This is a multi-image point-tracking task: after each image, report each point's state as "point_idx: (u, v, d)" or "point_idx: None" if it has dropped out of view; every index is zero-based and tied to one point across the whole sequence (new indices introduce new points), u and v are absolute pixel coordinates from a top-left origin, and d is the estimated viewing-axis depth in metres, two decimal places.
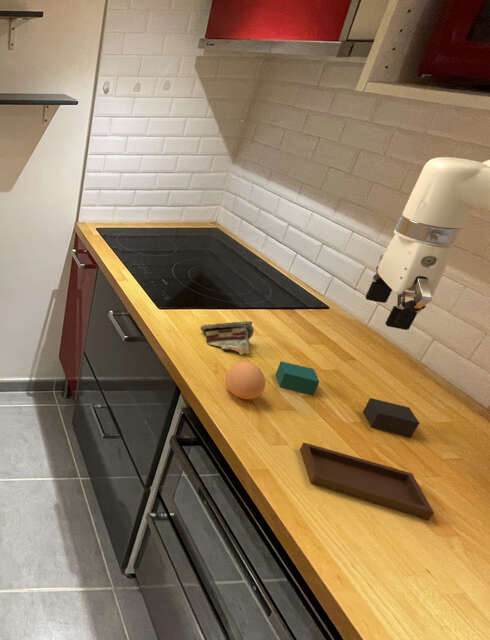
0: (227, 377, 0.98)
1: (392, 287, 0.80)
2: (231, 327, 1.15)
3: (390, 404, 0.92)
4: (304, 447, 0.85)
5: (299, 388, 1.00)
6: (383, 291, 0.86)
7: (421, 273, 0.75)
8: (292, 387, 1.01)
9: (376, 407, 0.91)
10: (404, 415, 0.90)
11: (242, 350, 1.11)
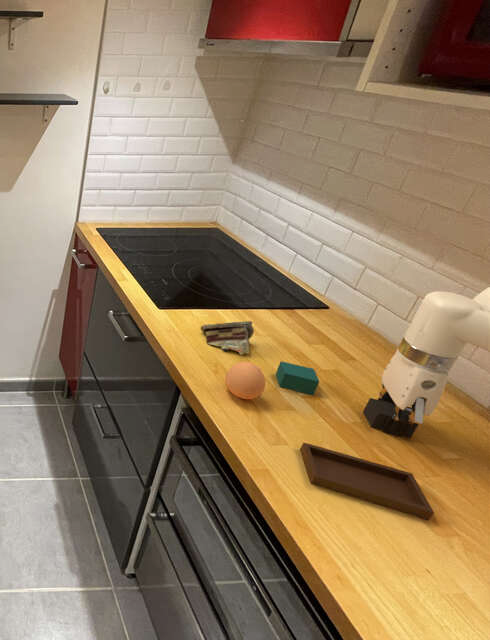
0: (227, 377, 0.98)
1: (395, 401, 0.88)
2: (231, 327, 1.15)
3: (390, 404, 0.92)
4: (304, 447, 0.85)
5: (299, 388, 1.00)
6: None
7: (421, 394, 0.83)
8: (292, 387, 1.01)
9: (376, 407, 0.91)
10: None
11: (242, 350, 1.11)
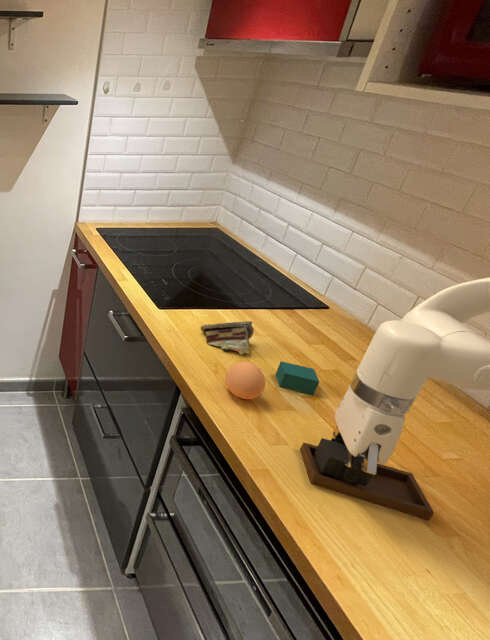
0: (227, 377, 0.98)
1: (347, 445, 0.76)
2: (231, 327, 1.15)
3: (344, 446, 0.81)
4: (304, 447, 0.85)
5: (299, 388, 1.00)
6: None
7: (374, 439, 0.72)
8: (292, 387, 1.01)
9: (327, 450, 0.80)
10: (358, 460, 0.78)
11: (242, 350, 1.11)
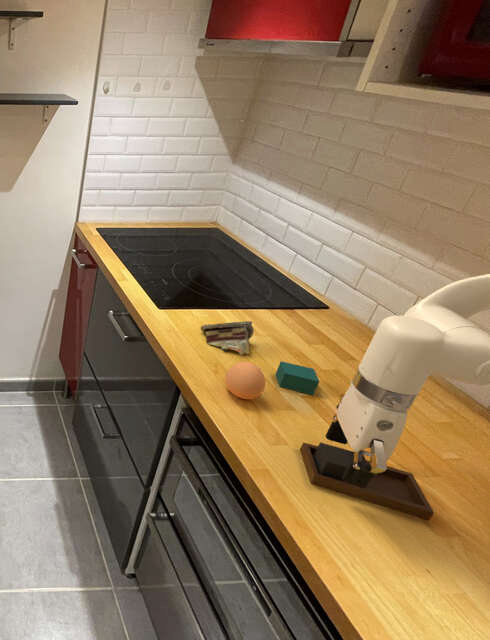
0: (227, 377, 0.98)
1: (349, 441, 0.76)
2: (231, 327, 1.15)
3: (342, 450, 0.81)
4: (304, 447, 0.85)
5: (299, 388, 1.00)
6: (343, 433, 0.82)
7: (376, 435, 0.71)
8: (292, 387, 1.01)
9: (325, 454, 0.80)
10: None
11: (242, 350, 1.11)
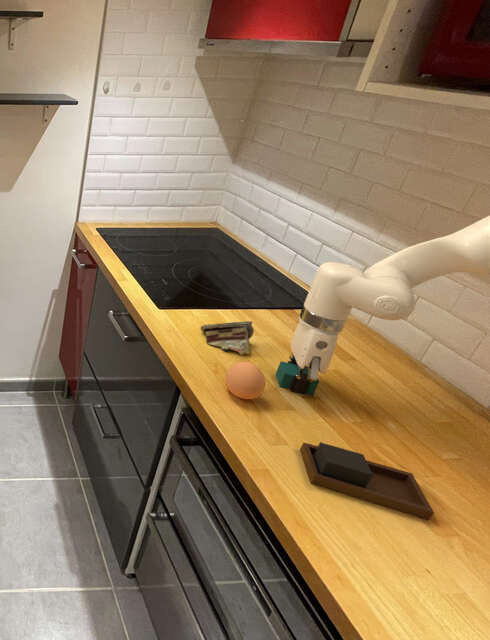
0: (227, 377, 0.98)
1: (297, 362, 0.98)
2: (231, 327, 1.15)
3: (342, 450, 0.81)
4: (304, 447, 0.85)
5: None
6: None
7: (316, 353, 0.94)
8: None
9: (325, 454, 0.80)
10: (356, 464, 0.78)
11: (242, 350, 1.11)
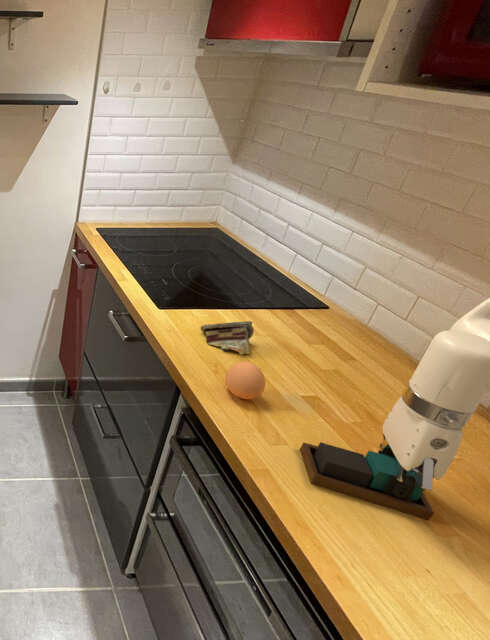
0: (227, 377, 0.98)
1: (398, 459, 0.73)
2: (231, 327, 1.15)
3: (342, 450, 0.81)
4: (304, 447, 0.85)
5: None
6: None
7: (430, 454, 0.69)
8: None
9: (325, 454, 0.80)
10: (356, 464, 0.78)
11: (242, 350, 1.11)
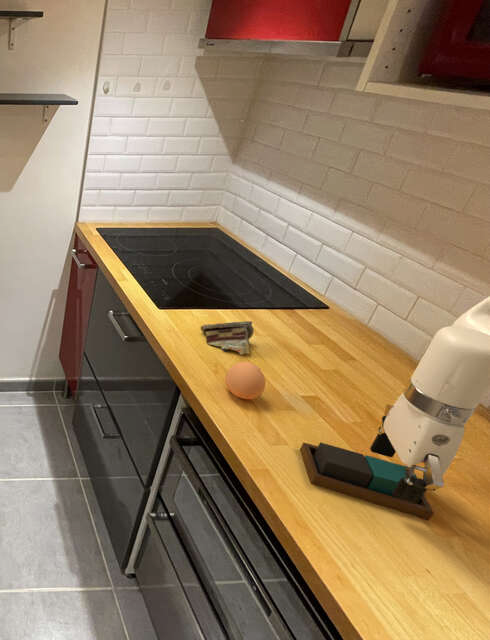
0: (227, 377, 0.98)
1: (400, 456, 0.73)
2: (231, 327, 1.15)
3: (342, 450, 0.81)
4: (304, 447, 0.85)
5: None
6: (389, 446, 0.80)
7: (431, 450, 0.69)
8: (384, 493, 0.77)
9: (325, 454, 0.80)
10: (356, 464, 0.78)
11: (242, 350, 1.11)
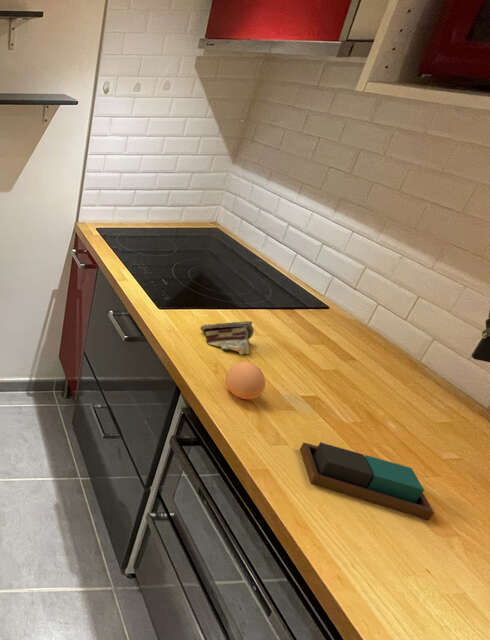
0: (227, 377, 0.98)
1: None
2: (231, 327, 1.15)
3: (342, 450, 0.81)
4: (304, 447, 0.85)
5: (394, 495, 0.76)
6: None
7: None
8: (384, 493, 0.77)
9: (325, 454, 0.80)
10: (356, 464, 0.78)
11: (242, 350, 1.11)
